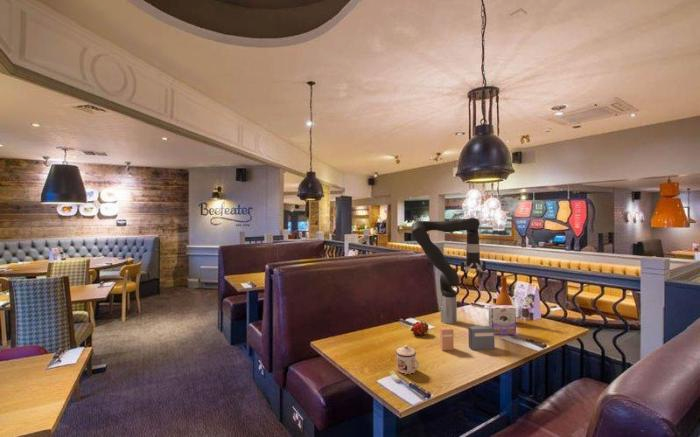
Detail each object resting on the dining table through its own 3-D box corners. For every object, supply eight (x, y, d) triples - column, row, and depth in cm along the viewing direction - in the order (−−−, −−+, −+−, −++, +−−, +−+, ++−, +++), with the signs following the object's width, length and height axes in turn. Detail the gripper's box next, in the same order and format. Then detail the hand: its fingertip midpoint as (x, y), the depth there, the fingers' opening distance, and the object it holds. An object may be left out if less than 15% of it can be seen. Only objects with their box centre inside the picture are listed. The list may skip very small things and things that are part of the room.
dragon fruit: (430, 336, 195) (412, 341, 192) (423, 324, 201) (406, 329, 198) (433, 328, 189) (415, 333, 186) (426, 316, 196) (408, 321, 193)
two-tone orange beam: (442, 350, 171) (442, 329, 171) (440, 347, 175) (439, 327, 175) (453, 350, 171) (453, 329, 171) (451, 346, 175) (450, 326, 175)
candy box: (512, 331, 195) (512, 304, 194) (516, 335, 189) (516, 307, 189) (488, 331, 196) (488, 304, 196) (491, 335, 190) (491, 307, 190)
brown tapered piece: (515, 324, 207) (515, 277, 206) (500, 324, 207) (499, 278, 206) (508, 319, 216) (507, 274, 216) (493, 319, 217) (492, 275, 216)
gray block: (471, 349, 171) (471, 329, 171) (468, 346, 175) (468, 326, 175) (494, 349, 172) (494, 328, 171) (491, 345, 176) (490, 325, 175)
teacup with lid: (392, 369, 152) (391, 345, 152) (405, 363, 158) (405, 340, 157) (411, 379, 143) (411, 353, 142) (425, 373, 148) (424, 348, 148)
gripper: (463, 252, 189) (463, 280, 189) (487, 251, 189) (487, 279, 189) (458, 250, 196) (459, 277, 197) (482, 250, 196) (482, 276, 197)
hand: (473, 278), depth 193 cm, fingers open, 8 cm apart
